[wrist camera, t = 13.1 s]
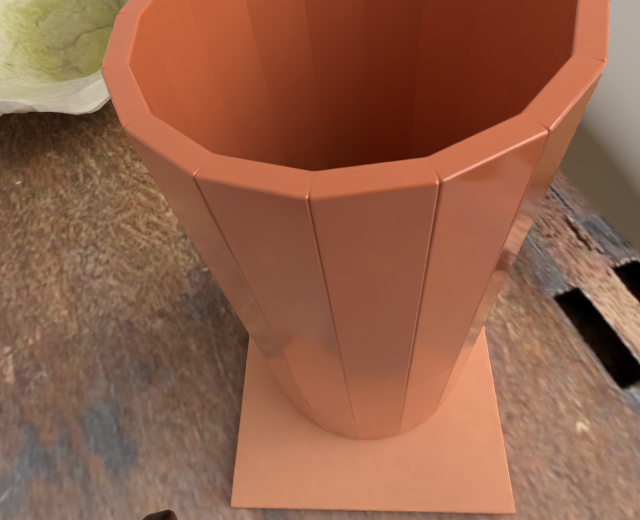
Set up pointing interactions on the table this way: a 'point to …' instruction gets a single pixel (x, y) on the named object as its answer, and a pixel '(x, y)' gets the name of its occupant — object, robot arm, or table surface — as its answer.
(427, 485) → the peach mat
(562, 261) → the table surface
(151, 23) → the terracotta cup
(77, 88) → the bowl
